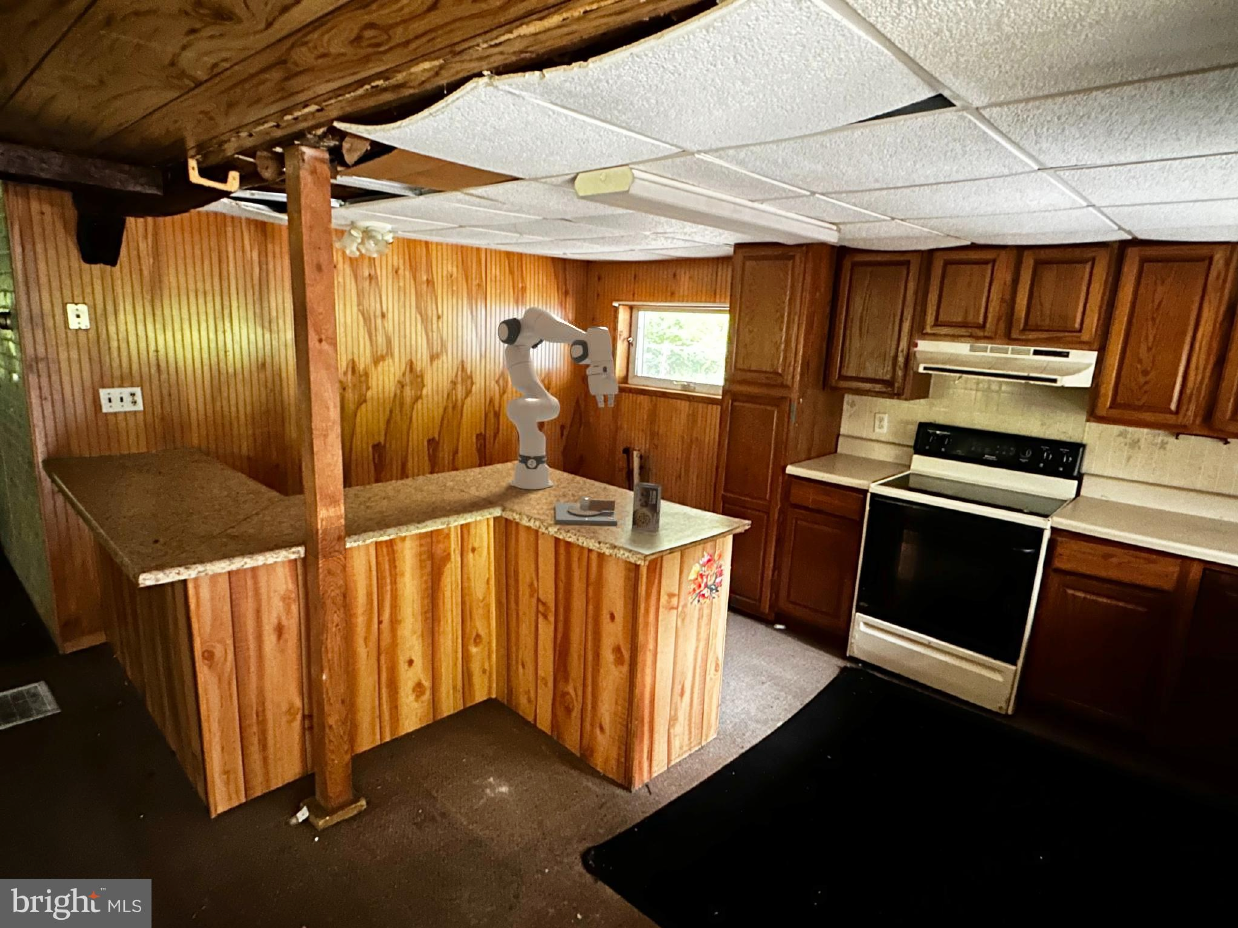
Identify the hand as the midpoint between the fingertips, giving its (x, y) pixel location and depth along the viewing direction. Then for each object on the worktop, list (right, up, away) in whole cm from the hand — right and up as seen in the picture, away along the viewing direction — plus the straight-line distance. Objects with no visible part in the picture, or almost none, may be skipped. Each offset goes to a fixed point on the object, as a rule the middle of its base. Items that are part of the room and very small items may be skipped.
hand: (606, 406), depth 246 cm
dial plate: (-8, -41, 0) cm, 42 cm away
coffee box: (+14, -45, -11) cm, 48 cm away
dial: (-6, -39, 0) cm, 40 cm away
